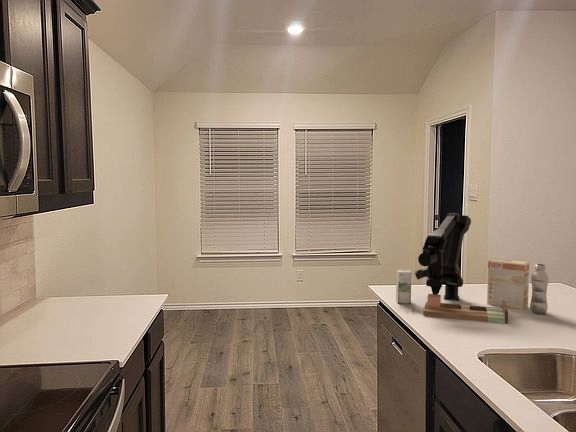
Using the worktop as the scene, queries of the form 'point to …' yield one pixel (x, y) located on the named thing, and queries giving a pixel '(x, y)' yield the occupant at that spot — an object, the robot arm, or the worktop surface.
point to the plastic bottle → (539, 289)
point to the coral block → (434, 300)
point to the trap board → (468, 312)
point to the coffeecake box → (508, 283)
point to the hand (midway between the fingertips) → (434, 298)
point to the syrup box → (403, 287)
